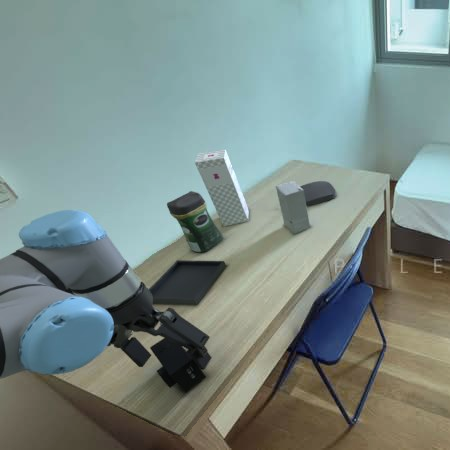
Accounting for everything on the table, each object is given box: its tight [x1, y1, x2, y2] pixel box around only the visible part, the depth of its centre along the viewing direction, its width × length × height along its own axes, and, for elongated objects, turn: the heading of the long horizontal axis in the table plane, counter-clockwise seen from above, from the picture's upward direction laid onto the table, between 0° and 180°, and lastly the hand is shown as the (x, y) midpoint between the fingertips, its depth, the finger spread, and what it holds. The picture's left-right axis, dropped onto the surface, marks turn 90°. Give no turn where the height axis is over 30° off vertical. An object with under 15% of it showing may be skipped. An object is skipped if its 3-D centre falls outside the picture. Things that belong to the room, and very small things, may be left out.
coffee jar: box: [166, 190, 223, 253], centre depth 98 cm, size 10×8×19 cm
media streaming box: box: [299, 180, 337, 206], centre depth 128 cm, size 15×15×3 cm
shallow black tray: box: [148, 259, 227, 306], centre depth 88 cm, size 15×15×2 cm
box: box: [194, 148, 250, 227], centre depth 109 cm, size 8×8×25 cm
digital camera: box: [149, 337, 207, 394], centre depth 64 cm, size 10×5×7 cm, turn 53°
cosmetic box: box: [275, 180, 311, 235], centre depth 106 cm, size 8×7×16 cm
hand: (175, 362), depth 65 cm, fingers open, 13 cm apart
